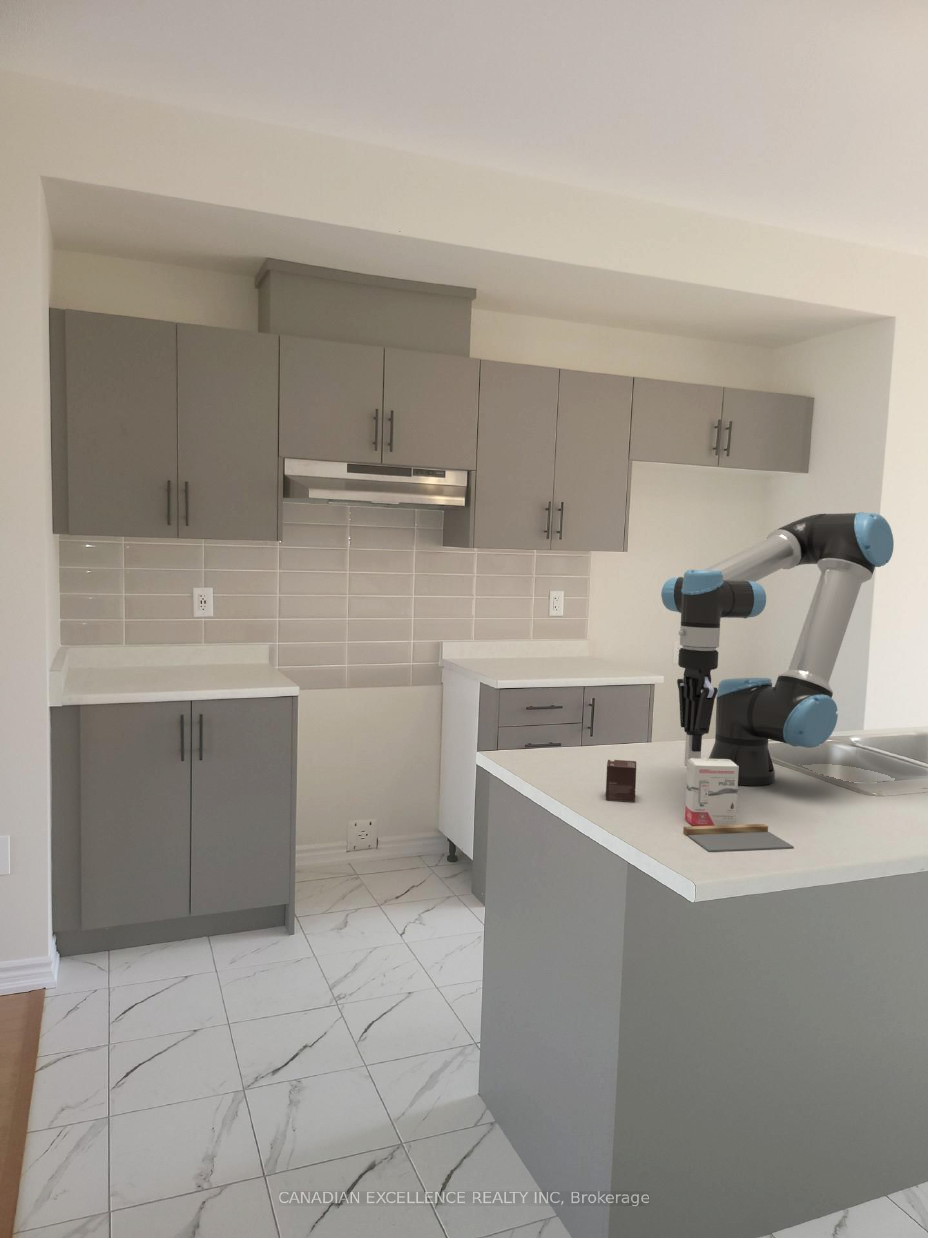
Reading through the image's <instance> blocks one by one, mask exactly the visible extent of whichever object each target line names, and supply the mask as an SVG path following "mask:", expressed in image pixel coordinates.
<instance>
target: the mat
mask: <svg viewBox="0 0 928 1238" xmlns="http://www.w3.org/2000/svg"><path fill="white" fill-rule="evenodd" d="M687 837H688V838H689V839H690V840H692V841H693V842H695V843H696V844H697V845H699V846H700V847H701V848H703V850H705V851H707V852H708V853H716V852H719V853H720V852H736V851H737V852H740V851H743V852H744V851H758V850H759V851H760V850H761V851H762V850H765V851H766V850H787V849H794V848H795V846H793V845H792V844H790V843H789V842H787V841H786V840H783V839H782V838H780V837H778V836H777V835H775V834H774V833H772V832H770V831H768V832H756V833H730V834H704V835H688V836H687Z"/></svg>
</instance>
